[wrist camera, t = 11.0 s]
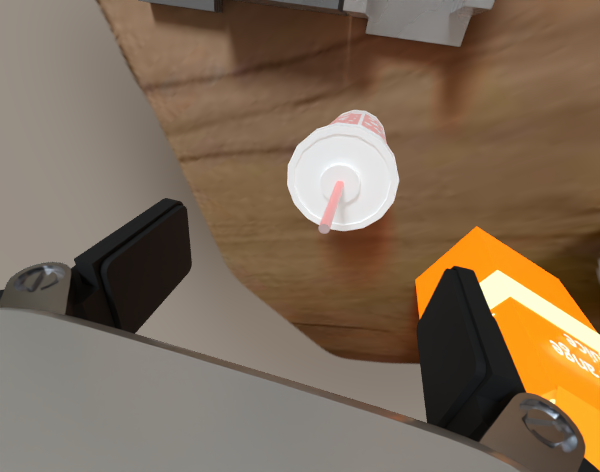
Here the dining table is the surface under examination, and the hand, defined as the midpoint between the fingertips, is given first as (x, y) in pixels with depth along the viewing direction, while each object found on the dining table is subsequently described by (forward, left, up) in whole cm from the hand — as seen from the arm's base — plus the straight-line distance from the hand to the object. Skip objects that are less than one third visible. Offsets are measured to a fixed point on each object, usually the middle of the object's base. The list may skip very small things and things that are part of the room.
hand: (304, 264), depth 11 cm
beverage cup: (0, 0, -16) cm, 16 cm away
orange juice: (-14, +10, -16) cm, 24 cm away
